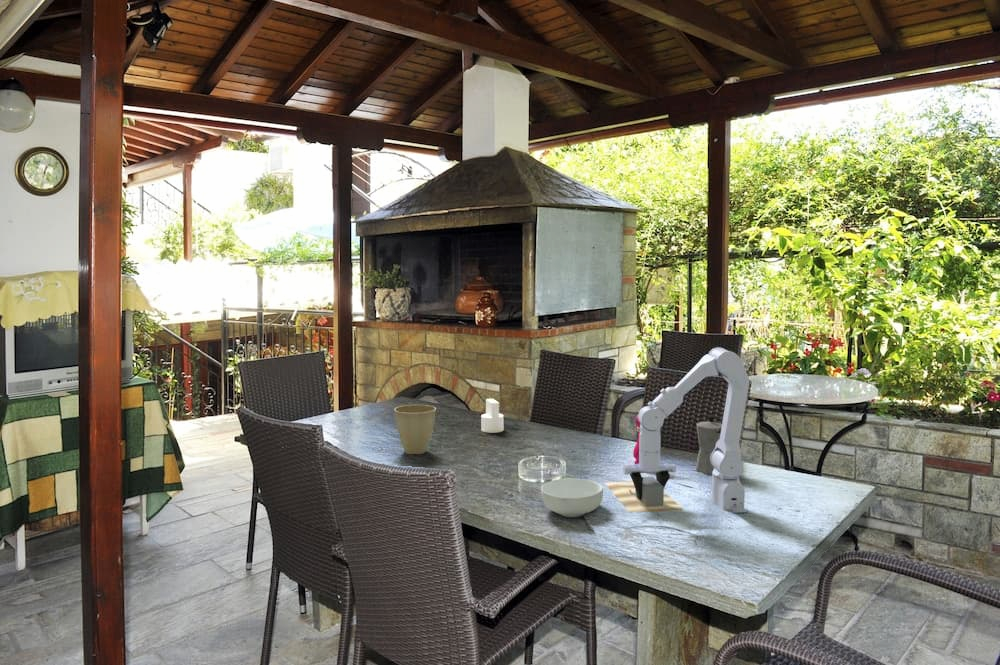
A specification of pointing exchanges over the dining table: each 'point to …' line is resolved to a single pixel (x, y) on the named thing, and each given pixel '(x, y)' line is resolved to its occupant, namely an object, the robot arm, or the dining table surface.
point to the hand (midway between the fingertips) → (649, 498)
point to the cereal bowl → (572, 496)
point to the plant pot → (415, 426)
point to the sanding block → (651, 493)
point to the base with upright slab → (492, 418)
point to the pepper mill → (636, 448)
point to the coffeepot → (707, 444)
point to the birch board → (627, 498)
